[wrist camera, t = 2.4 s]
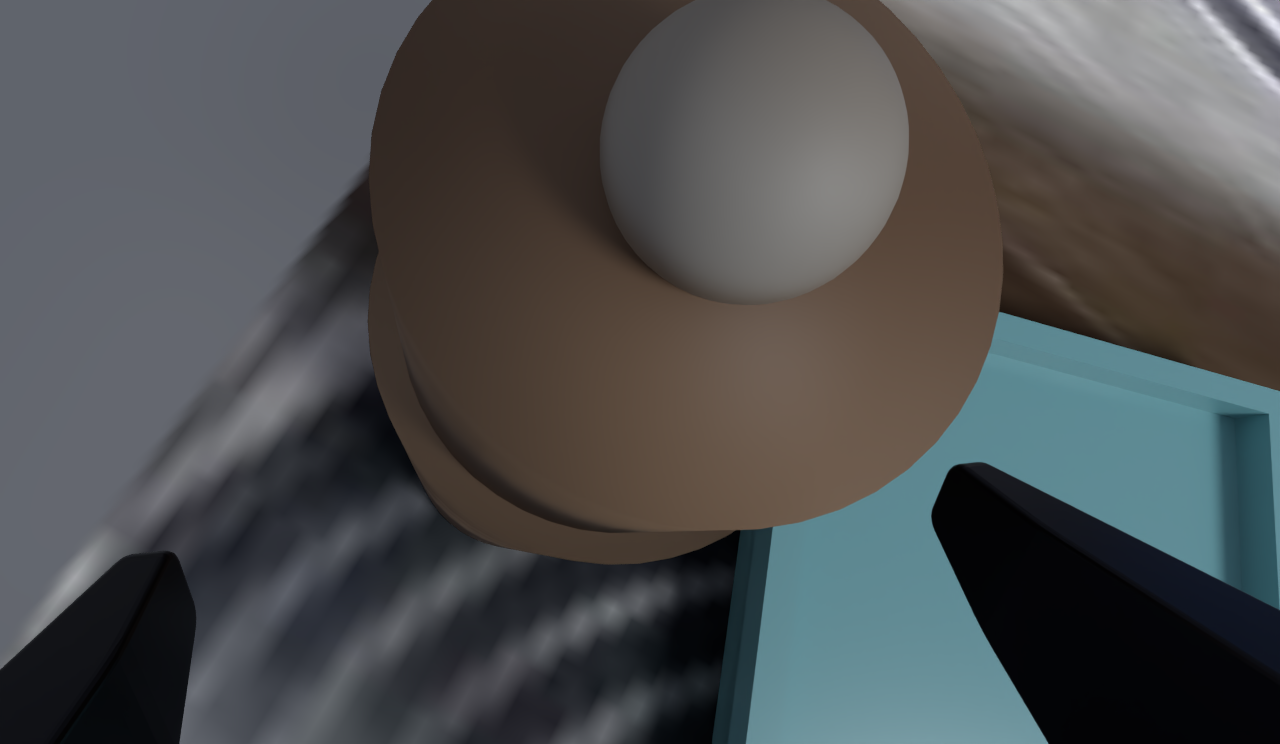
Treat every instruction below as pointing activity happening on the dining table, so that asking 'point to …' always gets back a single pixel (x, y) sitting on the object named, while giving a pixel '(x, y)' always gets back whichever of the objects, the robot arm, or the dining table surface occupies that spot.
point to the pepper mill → (671, 265)
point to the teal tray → (923, 578)
